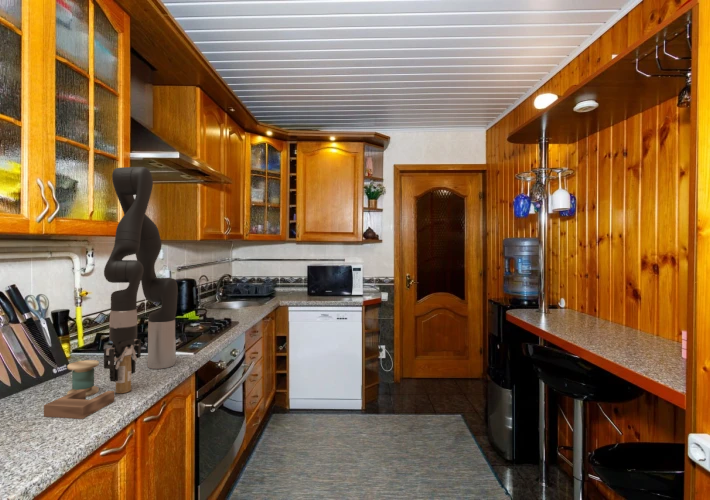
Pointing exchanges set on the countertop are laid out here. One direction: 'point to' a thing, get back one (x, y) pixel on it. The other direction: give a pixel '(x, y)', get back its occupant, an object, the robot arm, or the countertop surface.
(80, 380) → the bobbin
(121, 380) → the sprinkles bottle
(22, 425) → the countertop surface
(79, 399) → the c-shaped block
